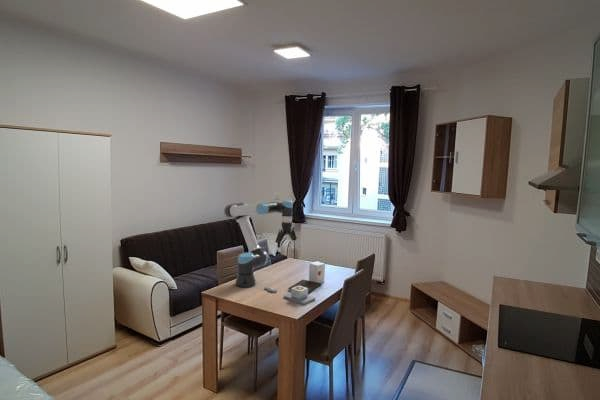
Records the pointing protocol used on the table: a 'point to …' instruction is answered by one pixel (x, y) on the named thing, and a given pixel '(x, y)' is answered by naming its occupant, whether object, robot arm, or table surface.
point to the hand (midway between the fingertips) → (285, 250)
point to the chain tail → (270, 290)
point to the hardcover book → (307, 285)
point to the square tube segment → (299, 292)
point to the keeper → (302, 301)
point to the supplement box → (316, 272)
